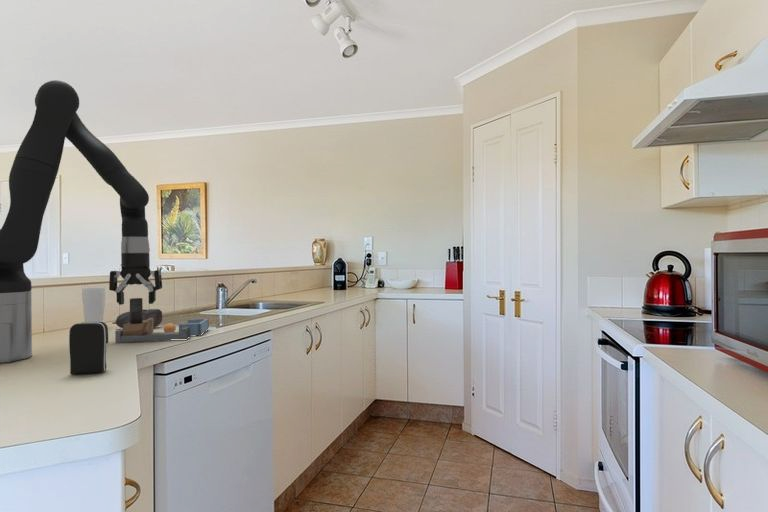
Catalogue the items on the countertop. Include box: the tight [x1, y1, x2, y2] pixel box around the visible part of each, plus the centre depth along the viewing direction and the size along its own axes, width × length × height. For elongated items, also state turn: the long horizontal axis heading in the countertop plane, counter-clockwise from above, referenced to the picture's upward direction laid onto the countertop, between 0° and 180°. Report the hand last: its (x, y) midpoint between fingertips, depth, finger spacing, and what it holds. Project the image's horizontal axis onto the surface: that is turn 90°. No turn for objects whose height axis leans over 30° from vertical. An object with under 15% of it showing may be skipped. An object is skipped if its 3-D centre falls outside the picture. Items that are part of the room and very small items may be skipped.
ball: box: [163, 322, 176, 332], centre depth 142 cm, size 4×4×4 cm
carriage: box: [122, 297, 154, 335], centre depth 136 cm, size 16×5×13 cm, turn 9°
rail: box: [114, 327, 191, 344], centre depth 132 cm, size 4×20×4 cm, turn 99°
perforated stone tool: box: [115, 308, 163, 329], centre depth 153 cm, size 15×5×7 cm, turn 98°
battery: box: [68, 321, 109, 375], centre depth 96 cm, size 7×4×11 cm, turn 102°
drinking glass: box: [81, 286, 106, 322], centre depth 151 cm, size 7×7×15 cm
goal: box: [178, 318, 210, 336], centre depth 143 cm, size 11×7×4 cm, turn 9°
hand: (136, 304), depth 132 cm, fingers open, 8 cm apart
